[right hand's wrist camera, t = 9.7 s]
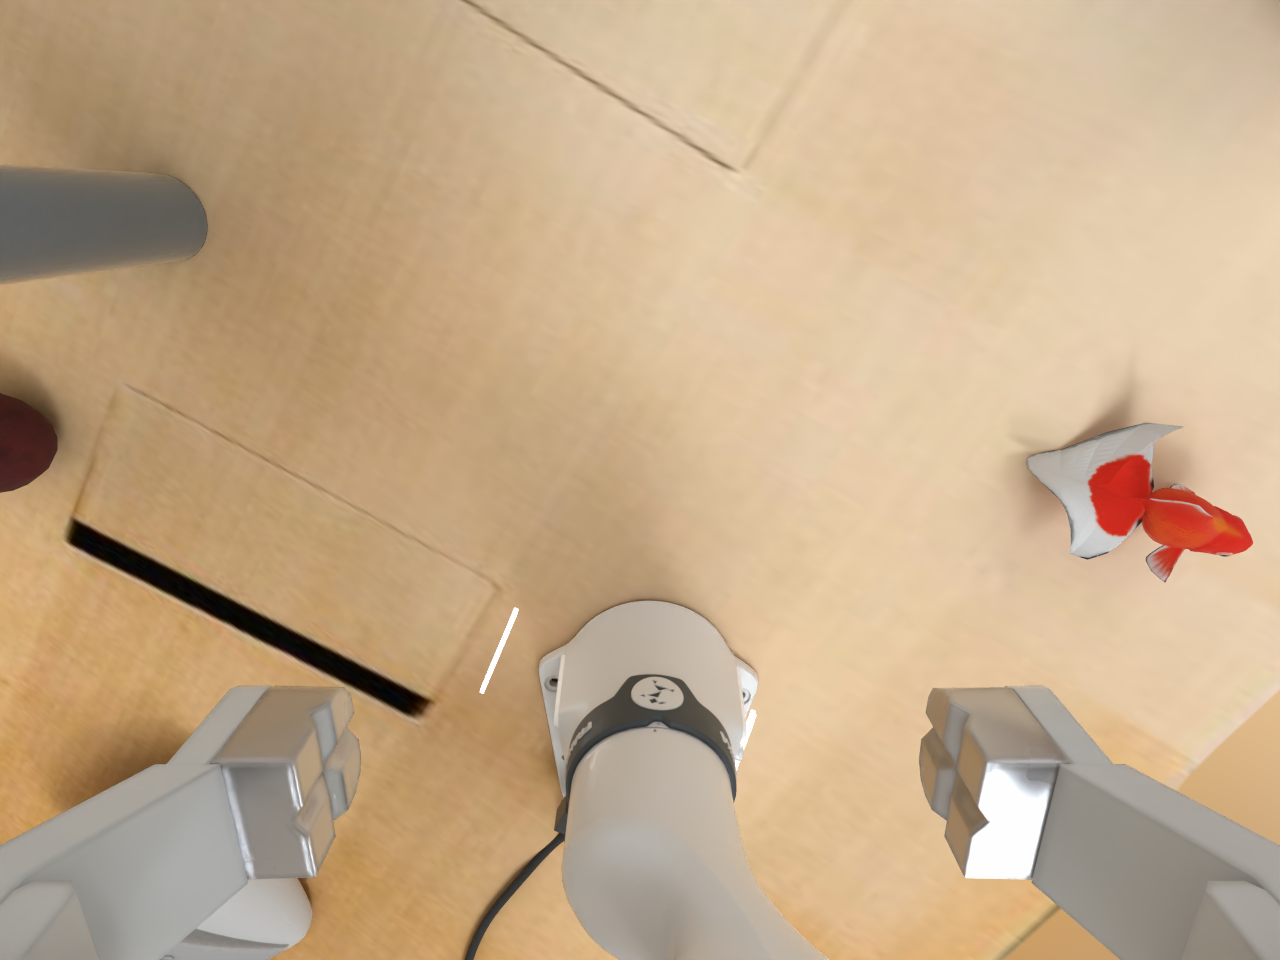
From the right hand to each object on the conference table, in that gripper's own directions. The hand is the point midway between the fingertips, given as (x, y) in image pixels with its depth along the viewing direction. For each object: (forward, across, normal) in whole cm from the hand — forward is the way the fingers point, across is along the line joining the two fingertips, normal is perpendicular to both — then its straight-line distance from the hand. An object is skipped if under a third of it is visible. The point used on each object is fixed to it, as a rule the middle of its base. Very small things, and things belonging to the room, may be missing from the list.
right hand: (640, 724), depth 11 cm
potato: (+46, -47, -9) cm, 66 cm away
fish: (+46, +36, -14) cm, 61 cm away
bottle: (+47, -33, +6) cm, 57 cm away
